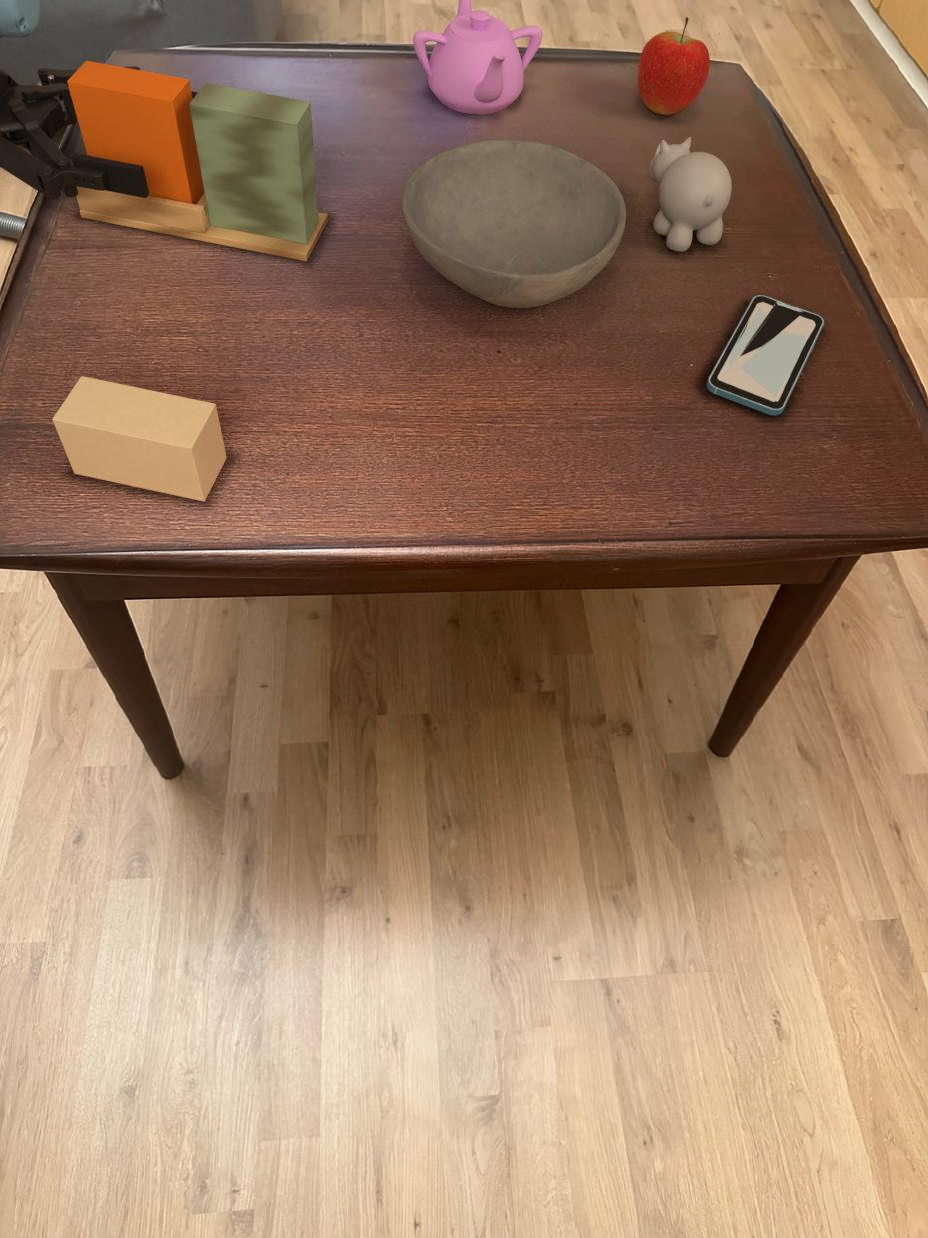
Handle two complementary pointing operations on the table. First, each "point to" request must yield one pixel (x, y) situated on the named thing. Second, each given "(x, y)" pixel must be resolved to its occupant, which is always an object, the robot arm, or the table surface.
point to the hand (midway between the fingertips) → (174, 143)
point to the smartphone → (765, 355)
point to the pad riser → (141, 438)
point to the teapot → (476, 61)
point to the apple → (672, 71)
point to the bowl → (514, 220)
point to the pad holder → (236, 178)
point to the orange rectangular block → (140, 125)
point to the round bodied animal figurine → (689, 194)
